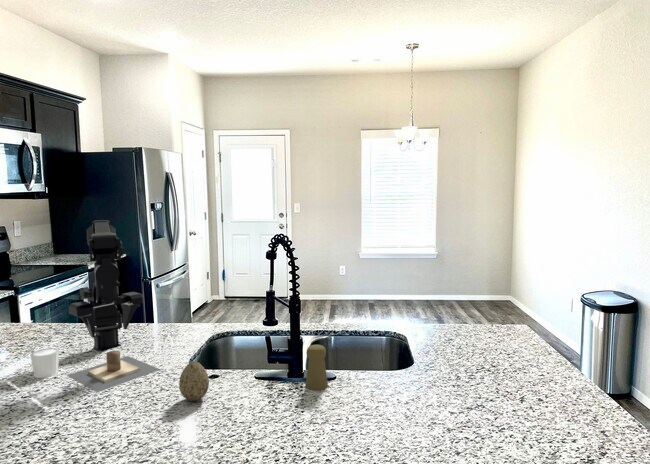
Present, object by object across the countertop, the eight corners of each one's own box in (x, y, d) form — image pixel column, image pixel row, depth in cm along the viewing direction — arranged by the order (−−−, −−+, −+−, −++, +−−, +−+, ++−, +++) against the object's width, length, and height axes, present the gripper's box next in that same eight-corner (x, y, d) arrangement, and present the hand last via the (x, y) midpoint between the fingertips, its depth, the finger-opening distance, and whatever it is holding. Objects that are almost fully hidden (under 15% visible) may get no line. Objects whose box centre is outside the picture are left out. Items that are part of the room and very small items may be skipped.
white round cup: (65, 371, 128) (64, 348, 128) (49, 381, 121) (47, 356, 121) (44, 370, 129) (42, 347, 128) (26, 380, 122) (24, 356, 121)
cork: (325, 392, 113) (325, 350, 112) (302, 390, 114) (302, 349, 113) (329, 382, 119) (329, 342, 118) (308, 380, 120) (307, 341, 119)
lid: (122, 362, 133) (121, 344, 132) (140, 370, 127) (139, 351, 126) (88, 373, 125) (86, 354, 124) (105, 382, 119) (104, 362, 118)
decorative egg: (214, 400, 109) (213, 361, 108) (187, 409, 105) (185, 369, 104) (201, 390, 115) (200, 353, 114) (175, 399, 110) (173, 360, 109)
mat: (128, 357, 138) (127, 355, 138) (160, 371, 127) (160, 369, 127) (67, 377, 124) (66, 375, 124) (97, 394, 113) (97, 392, 113)
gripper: (123, 271, 135) (126, 320, 137) (58, 281, 121) (61, 336, 122) (143, 275, 129) (145, 326, 130) (76, 286, 114) (79, 344, 115)
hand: (109, 333), depth 124 cm, fingers open, 9 cm apart
